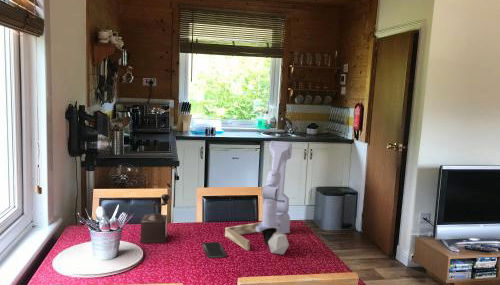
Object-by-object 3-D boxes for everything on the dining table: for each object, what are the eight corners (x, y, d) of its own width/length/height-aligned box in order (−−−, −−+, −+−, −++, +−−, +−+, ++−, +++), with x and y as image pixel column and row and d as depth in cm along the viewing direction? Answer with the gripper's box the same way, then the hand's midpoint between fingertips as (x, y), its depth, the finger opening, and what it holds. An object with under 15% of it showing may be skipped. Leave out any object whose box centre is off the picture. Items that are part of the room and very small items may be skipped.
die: (290, 252, 172) (281, 231, 175) (293, 249, 164) (284, 227, 167) (273, 259, 171) (264, 238, 174) (275, 257, 163) (265, 234, 166)
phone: (207, 256, 160) (201, 242, 174) (207, 259, 160) (201, 245, 174) (227, 255, 162) (219, 241, 176) (227, 258, 162) (219, 244, 176)
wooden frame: (259, 230, 196) (259, 222, 196) (283, 243, 180) (284, 234, 180) (224, 236, 186) (225, 227, 185) (247, 250, 170) (247, 241, 169)
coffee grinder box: (166, 243, 173) (167, 202, 171) (139, 243, 172) (140, 201, 170) (169, 231, 188) (170, 193, 186) (144, 230, 187) (145, 192, 185)
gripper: (273, 208, 180) (271, 238, 182) (250, 214, 170) (249, 245, 171) (286, 212, 176) (284, 242, 177) (263, 218, 165) (261, 250, 167)
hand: (267, 244), depth 174 cm, fingers closed
